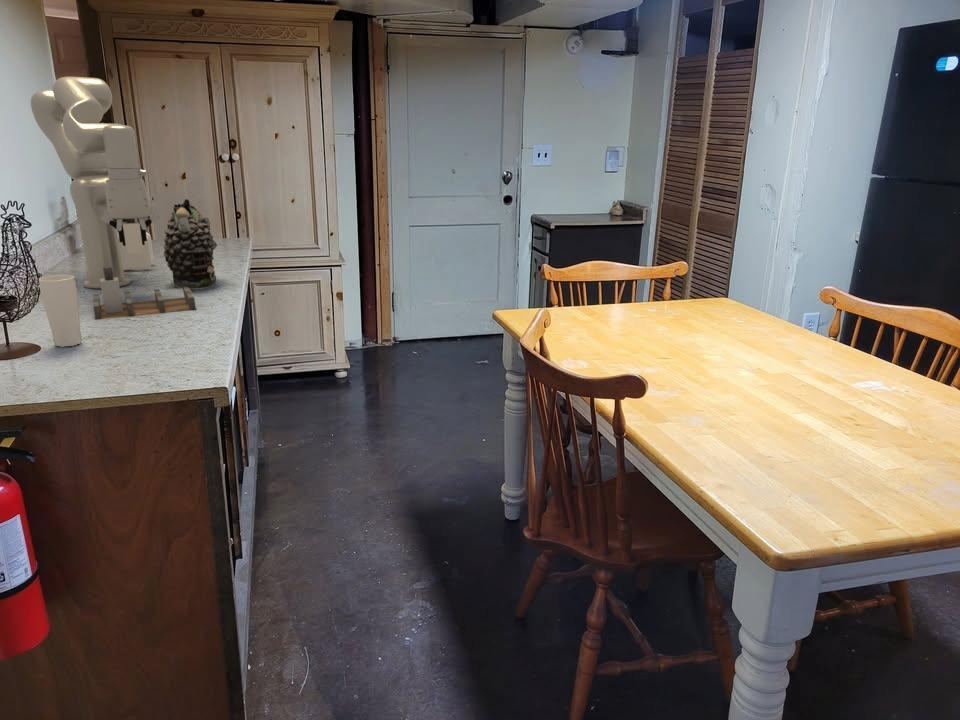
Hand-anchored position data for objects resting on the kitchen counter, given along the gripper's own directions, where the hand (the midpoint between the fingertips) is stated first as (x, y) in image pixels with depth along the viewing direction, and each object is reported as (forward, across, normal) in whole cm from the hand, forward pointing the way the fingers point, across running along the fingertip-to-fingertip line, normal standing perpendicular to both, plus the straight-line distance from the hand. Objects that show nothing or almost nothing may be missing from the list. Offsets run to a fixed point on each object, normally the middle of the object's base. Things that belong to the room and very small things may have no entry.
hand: (133, 243), depth 189 cm
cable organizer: (+16, +1, -47) cm, 50 cm away
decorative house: (+16, -16, -13) cm, 26 cm away
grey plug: (+14, +7, +16) cm, 22 cm away
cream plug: (+2, 0, 0) cm, 2 cm away
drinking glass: (+15, +17, +39) cm, 45 cm away
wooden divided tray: (+15, 0, +16) cm, 22 cm away
